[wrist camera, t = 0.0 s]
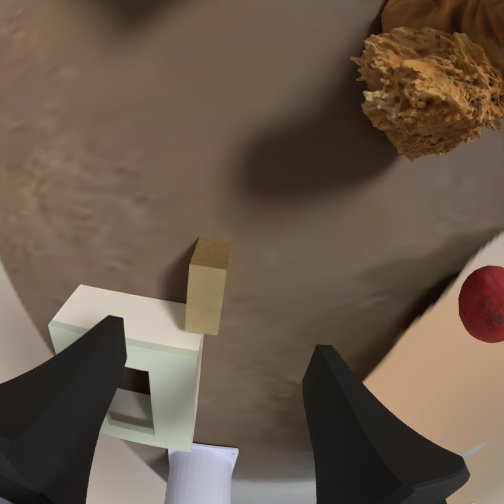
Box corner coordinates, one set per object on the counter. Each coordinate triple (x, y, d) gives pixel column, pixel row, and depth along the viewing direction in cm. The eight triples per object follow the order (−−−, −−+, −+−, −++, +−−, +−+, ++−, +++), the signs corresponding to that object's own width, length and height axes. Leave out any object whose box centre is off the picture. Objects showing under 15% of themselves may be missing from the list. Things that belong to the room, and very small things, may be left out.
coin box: (197, 407, 27) (191, 452, 22) (98, 386, 26) (82, 427, 21) (206, 306, 22) (197, 357, 17) (80, 284, 21) (48, 324, 17)
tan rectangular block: (221, 299, 22) (217, 335, 18) (193, 295, 22) (184, 330, 18) (230, 241, 20) (227, 269, 17) (199, 236, 20) (189, 264, 16)
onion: (430, 297, 22) (479, 361, 15) (468, 238, 20) (532, 288, 13) (465, 316, 24) (510, 372, 16) (500, 265, 21) (554, 312, 14)
